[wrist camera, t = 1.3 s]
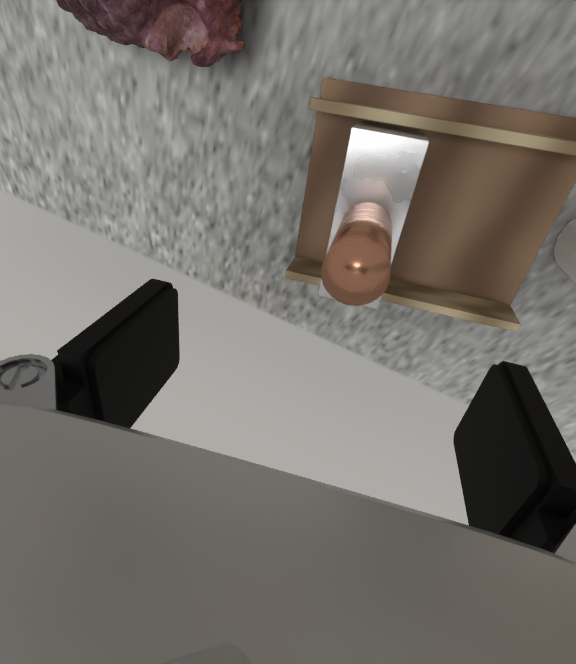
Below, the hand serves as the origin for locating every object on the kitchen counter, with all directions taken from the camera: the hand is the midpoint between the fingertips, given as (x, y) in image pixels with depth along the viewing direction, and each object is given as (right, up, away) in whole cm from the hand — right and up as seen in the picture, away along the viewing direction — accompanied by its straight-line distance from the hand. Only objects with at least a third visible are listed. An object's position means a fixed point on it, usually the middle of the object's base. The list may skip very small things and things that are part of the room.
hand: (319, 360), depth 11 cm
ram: (+5, +10, +16) cm, 20 cm away
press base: (+9, +10, +17) cm, 22 cm away
